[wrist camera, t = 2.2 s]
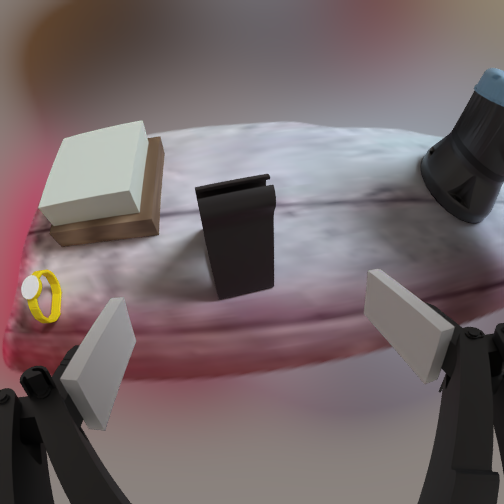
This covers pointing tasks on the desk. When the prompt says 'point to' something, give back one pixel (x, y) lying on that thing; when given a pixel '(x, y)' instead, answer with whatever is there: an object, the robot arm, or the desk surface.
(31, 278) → the watch
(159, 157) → the lower block
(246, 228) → the phone stand
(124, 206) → the upper block
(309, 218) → the desk surface
